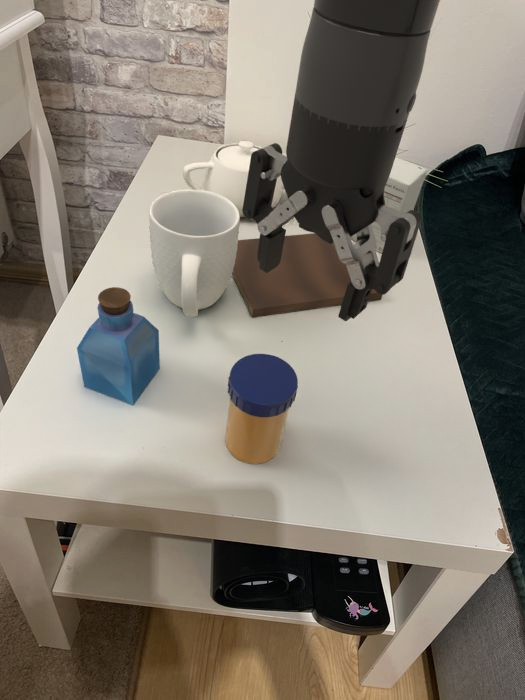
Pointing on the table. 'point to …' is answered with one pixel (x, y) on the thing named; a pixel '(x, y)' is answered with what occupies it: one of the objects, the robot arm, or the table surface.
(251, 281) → the board
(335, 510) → the table surface
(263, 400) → the jar lid
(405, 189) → the white packaging box
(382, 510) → the table surface
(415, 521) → the table surface
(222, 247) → the mug
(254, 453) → the jar
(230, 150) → the teapot
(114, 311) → the perfume bottle
